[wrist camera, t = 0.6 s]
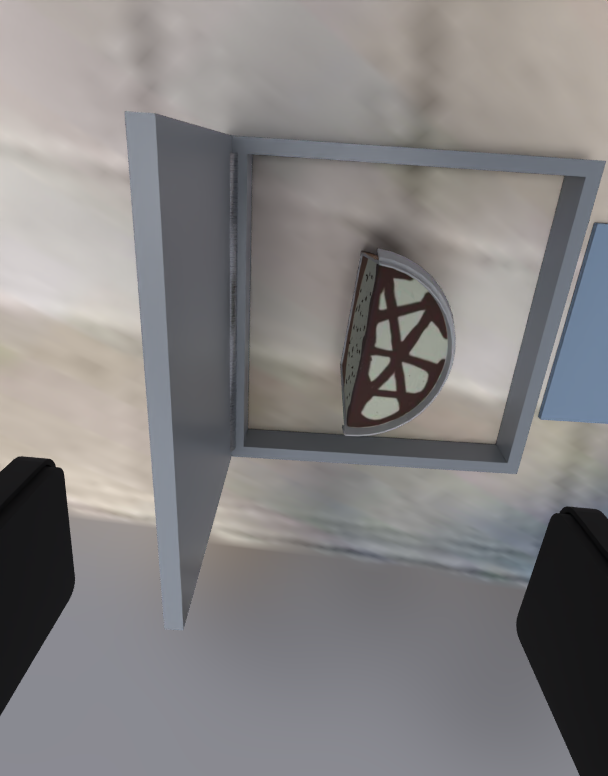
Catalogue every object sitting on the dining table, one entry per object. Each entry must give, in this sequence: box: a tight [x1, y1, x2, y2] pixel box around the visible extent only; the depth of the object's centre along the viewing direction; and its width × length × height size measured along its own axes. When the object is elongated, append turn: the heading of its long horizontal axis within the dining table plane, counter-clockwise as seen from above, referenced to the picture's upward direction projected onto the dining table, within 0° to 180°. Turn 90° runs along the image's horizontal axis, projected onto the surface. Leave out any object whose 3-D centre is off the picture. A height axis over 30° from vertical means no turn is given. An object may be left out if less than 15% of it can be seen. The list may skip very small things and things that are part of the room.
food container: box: [340, 248, 456, 436], centre depth 35 cm, size 12×6×10 cm, turn 172°
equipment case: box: [125, 111, 606, 630], centre depth 31 cm, size 24×25×20 cm
